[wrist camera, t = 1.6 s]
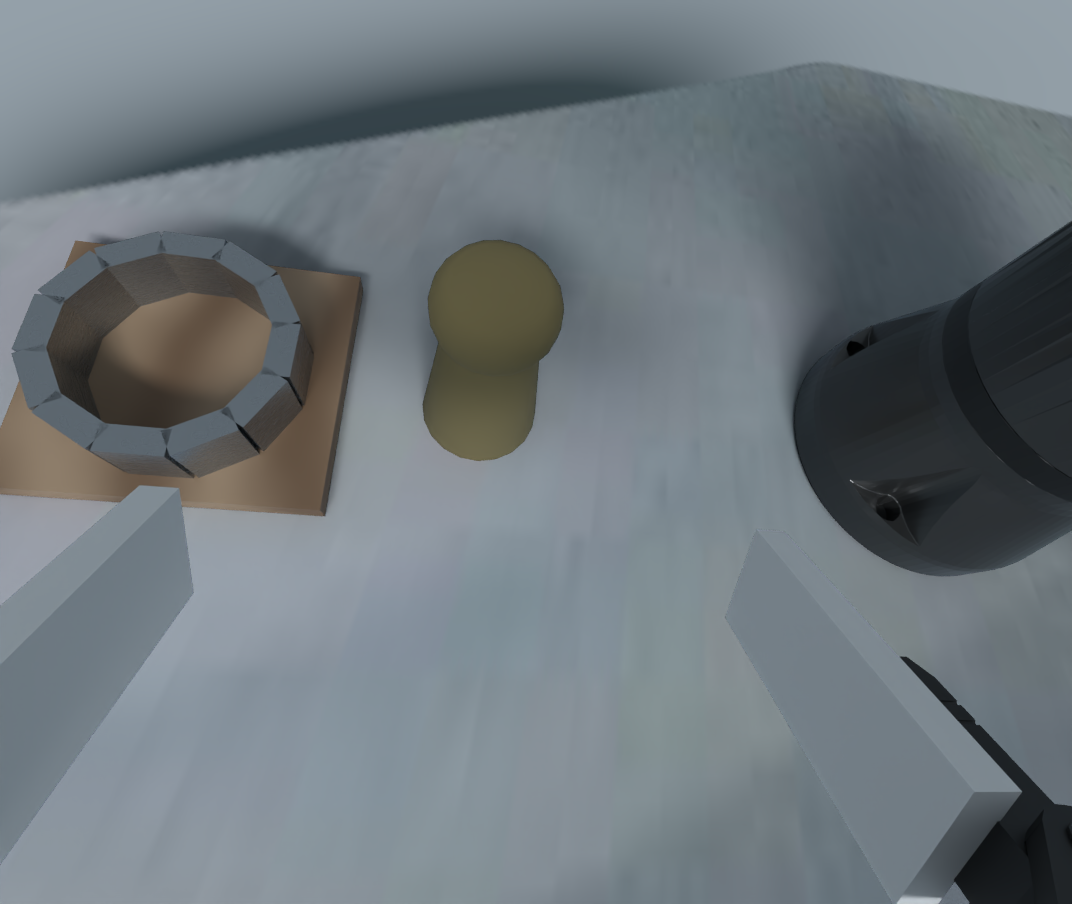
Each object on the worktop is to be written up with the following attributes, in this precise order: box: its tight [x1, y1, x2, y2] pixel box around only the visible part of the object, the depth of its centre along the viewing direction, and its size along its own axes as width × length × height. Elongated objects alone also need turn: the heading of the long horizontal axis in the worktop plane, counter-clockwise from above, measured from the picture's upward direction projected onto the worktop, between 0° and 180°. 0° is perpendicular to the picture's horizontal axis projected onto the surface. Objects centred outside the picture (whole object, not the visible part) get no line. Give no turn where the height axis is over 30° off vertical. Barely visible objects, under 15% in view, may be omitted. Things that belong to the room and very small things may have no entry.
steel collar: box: [12, 231, 314, 479], centre depth 26 cm, size 11×11×3 cm
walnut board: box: [0, 241, 363, 516], centre depth 27 cm, size 14×13×1 cm
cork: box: [423, 240, 564, 461], centre depth 25 cm, size 6×6×11 cm
